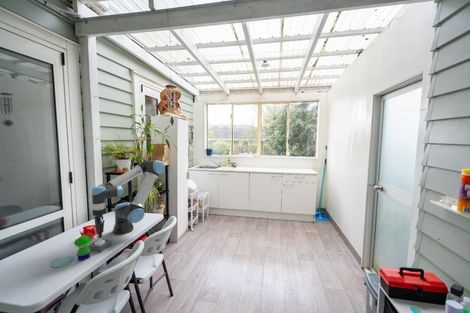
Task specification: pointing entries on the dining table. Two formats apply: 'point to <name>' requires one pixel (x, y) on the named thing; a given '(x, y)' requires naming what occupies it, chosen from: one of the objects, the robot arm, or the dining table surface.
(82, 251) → the toy
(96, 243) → the dome
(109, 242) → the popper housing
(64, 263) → the pad
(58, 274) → the dining table surface
